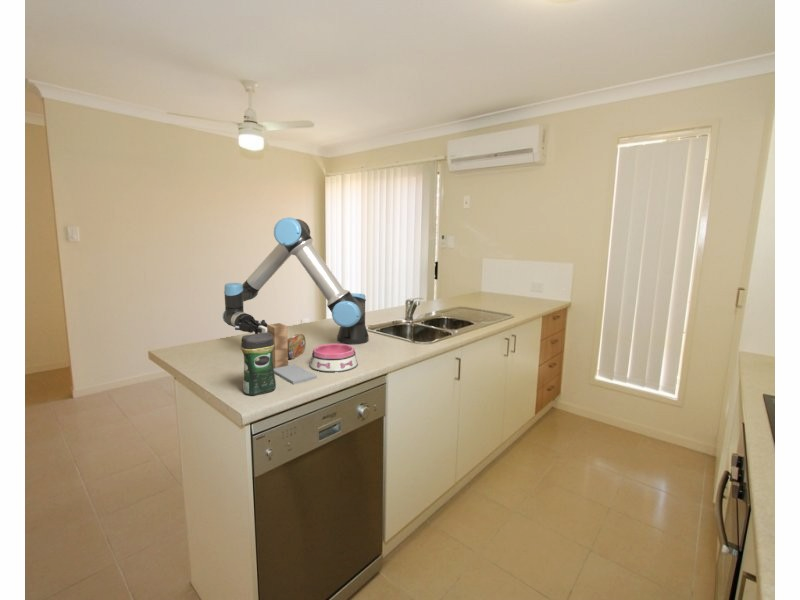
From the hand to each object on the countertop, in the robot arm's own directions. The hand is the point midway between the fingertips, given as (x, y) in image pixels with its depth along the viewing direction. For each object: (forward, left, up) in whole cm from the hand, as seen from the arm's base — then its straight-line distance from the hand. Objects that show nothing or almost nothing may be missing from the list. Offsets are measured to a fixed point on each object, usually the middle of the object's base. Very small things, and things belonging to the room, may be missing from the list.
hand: (267, 332), depth 148 cm
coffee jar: (+8, +28, -12) cm, 32 cm away
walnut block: (-2, +7, -12) cm, 14 cm away
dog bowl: (-22, +14, -12) cm, 29 cm away
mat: (-5, +19, -12) cm, 23 cm away
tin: (-11, -4, -12) cm, 17 cm away
